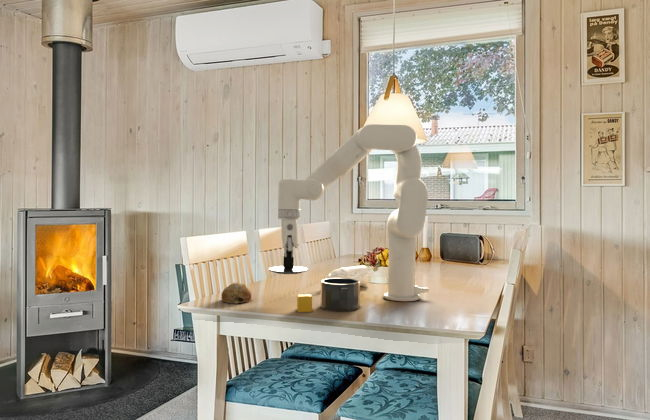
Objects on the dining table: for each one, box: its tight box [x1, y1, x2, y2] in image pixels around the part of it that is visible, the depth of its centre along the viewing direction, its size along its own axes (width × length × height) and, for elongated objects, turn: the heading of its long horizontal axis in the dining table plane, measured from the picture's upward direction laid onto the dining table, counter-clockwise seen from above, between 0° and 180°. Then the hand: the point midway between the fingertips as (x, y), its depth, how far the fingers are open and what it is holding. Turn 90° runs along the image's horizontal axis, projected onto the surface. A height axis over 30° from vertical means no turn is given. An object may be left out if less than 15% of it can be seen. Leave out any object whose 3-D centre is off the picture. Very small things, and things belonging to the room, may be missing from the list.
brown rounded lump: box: [221, 282, 252, 305], centre depth 178 cm, size 10×10×8 cm
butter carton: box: [296, 293, 313, 313], centre depth 165 cm, size 4×4×5 cm
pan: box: [320, 278, 361, 312], centre depth 170 cm, size 12×18×8 cm
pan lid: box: [268, 255, 308, 275], centre depth 180 cm, size 13×13×6 cm
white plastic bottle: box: [323, 265, 372, 287], centre depth 205 cm, size 8×19×8 cm, turn 125°
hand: (288, 267), depth 180 cm, fingers closed on pan lid, 2 cm apart
